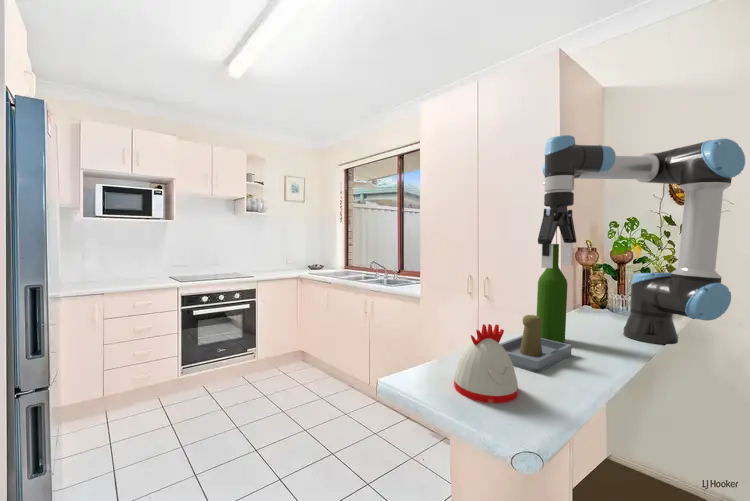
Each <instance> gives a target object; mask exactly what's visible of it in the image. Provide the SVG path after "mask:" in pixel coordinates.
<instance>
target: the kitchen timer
mask: <svg viewBox="0 0 750 501" xmlns="http://www.w3.org/2000/svg"><path fill="white" fill-rule="evenodd" d="M499 326H500V325H499V324H495V325H494V327H493V326H492V324H490V323H488V325H486V324H482V327H481V331H480V329H476V330H475V331H476V336H477V338H475V336H474V335H472V334H470V338H471V343H470V344H468V346H466V348H465V349H464V351H463V352H462V354H461V356H460V358H459V360H458V363H457V365H456V368H455V373H454V377H453V378H454V379H453V387H454V389H455V391H456V392H457V393H458V394H460V395H461V396H463V397H464V398H468V399H470V400H473V401H476V402H481V403H485V404H505V403H509V402H513V401H514V400H516V399H517V397H518V396H519V394H518V393H519V384H518V380H517V375H516V370H515V366H513V364H512V361H511V359H510V357H509V355H508V353H507V352H506V350H505V349H504V348H503V347H502V346H501V345H500V342H501V339H502V338H503V336H504V331H505V329H503V328H501V329H499V328H500V327H499ZM493 328H494V329H493Z"/></svg>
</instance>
